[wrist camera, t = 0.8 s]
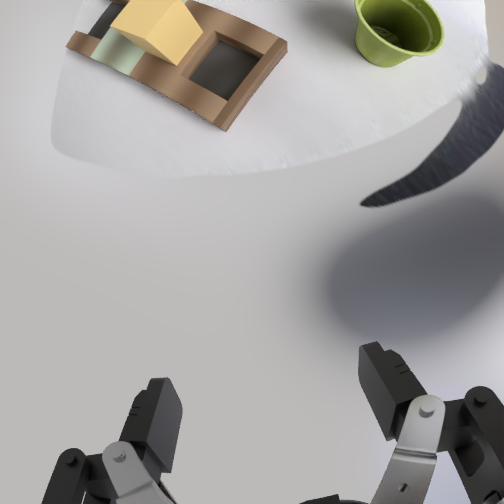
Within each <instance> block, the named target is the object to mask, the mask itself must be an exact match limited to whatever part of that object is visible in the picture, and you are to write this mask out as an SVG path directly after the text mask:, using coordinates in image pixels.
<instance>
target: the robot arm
mask: <svg viewBox="0 0 504 504" xmlns="http://www.w3.org/2000/svg"><path fill="white" fill-rule="evenodd" d="M358 375H359V381H360V384H361V387H362V389H363V391H364V393H365V395H366V397H367V399H368V402H369V404H370V406H371V408H372V410H373V412H374V414H375V416H376V419H377V420H378V423H379V425H380V427H381V430H382V432H383V434H384V436H385V438H386V441H389V440H392V439H396V441H397V445H396V447H395V450H394V452H393V454H392V457H391V460H390V462H389V464H388V467H387V469H386V471H385V474H384V476H383V478H382V480H381V483H380V485H379V487H378V489H377V491H376V494H375V495H374V497H373V499H372V501H371V503H370V504H423V502H424V499H425V496H426V493H427V491H428V487H429V485H430V481H431V478H432V475H433V472H434V468H435V465H436V461H437V456H436V453H437V452H442V451H448V452H449V454H450V456H451V459H452V461H453V463H454V465H455V467H456V469H457V471H458V474H459V476H460V478H461V480H462V483H463V485H464V487H465V490H466V492H467V494H468V497H469V499H470V501H471V504H504V405H503V404H502V403H501V401H500V400H499V399H498V397H497V396H496V395H495V393H494V392H493V391H492V390H491V389H489V388H487V387H484V386H477V387H474V388H472V389H470V390H469V391H468V392H467V393H466V395H465V398H464V399H459V400H453V401H442V400H441V399H440V398H438V397H436V396H434V395H428V394H427V393H426V391H425V390H424V388H423V387H422V385H421V384H420V382H419V381H418V380H417V378H416V377H415V375H414V374H413V372H412V371H410V368H409V367H408V365H406V363H405V361H404V360H403V358H402V357H401V356H400V355H399V354H397V353H396V352H394V351H392V350H387V351H384V350H383V348H382V347H381V345H380V344H379V343H378V342H377V341H376V342H372V343H369V344H365V345H361V346H360V347H359V367H358ZM181 418H182V404H181V401H180V399H179V397H178V395H177V393H176V391H175V389H174V387H173V384H172V382H171V380H170V379H169V378H152V379H151V380H150V382H149V384H148V387H147V390H142V391H141V392H140V393H139V394H138V395H137V396H136V397H135V399H134V401H133V404H132V409H131V410H130V412H129V416H128V417H127V420H126V422H125V425H124V427H123V430H122V433H121V436H120V438H119V441H118V442H114V443H112V444H110V445H109V446H107V447H106V448H105V450H104V451H103V453H102V454H95V455H88V456H86V455H85V454H84V453H83V452H82V451H81V450H79V449H77V448H71V449H67V450H65V451H64V452H63V453H62V454H61V455H60V456H59V458H58V461H57V464H56V466H55V469H54V471H53V473H52V476H51V479H50V482H49V484H48V487H47V490H46V492H45V495H44V498H43V501H42V504H81V503H82V500H83V496H84V493H85V492H86V494H85V498H84V501H83V504H178V503H177V502H176V500H175V499H174V497H173V496H172V495H171V493H170V492H169V490H168V489H167V488H166V486H165V485H164V483H163V482H162V480H160V477H161V472H162V473H171V470H172V465H173V459H174V454H175V449H176V444H177V438H178V433H179V428H180V423H181ZM300 504H368V503H365V502H361V501H354V500H339V496H338V494H336V495H332V496H327V497H323V498H319V499H313V500H308V501H305V502H303V503H300Z"/></svg>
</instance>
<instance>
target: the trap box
mask: <svg viewBox="0 0 504 504" xmlns="http://www.w3.org/2000/svg"><path fill="white" fill-rule="evenodd" d="M110 1H111V2H112V3H111V4H110V6H109V7H108V8H107V9H106V11H105V12H104V13H103V14H102V16H101V17H100V18H99V20H98V21H97V22H96V24H95V25H94V26H93V28H92V29H91V31H90V32H89V33H88V35H87V34H84V33H81V32H78V31H76V32H75V33H74V35H73V36H72V38H71V39H70V41H69V42H68V44H67V45H66V47H67V48H69V49H72V50H74V51H76V52H79V53H81V54H83V55H85V56H88V57H90V58H92V59H94V60H97V61H99V62H101V63H103V64H105V65H107V66H109V67H111V68H113V69H115V70H118V71H120V72H122V73H124V74H126V75H128V76H130V77H131V78H133V79H135V80H137V81H139V82H141V83H143V84H145V85H147V86H149V87H151V88H152V89H154V90H156V91H158V92H160V93H162V94H163V95H165V96H167V97H169V98H171V99H172V100H174V101H176V102H178V103H179V104H181V105H183V106H185V107H186V108H188V109H190V110H191V111H193V112H195V113H196V114H198V115H200V116H201V117H203V118H205V119H206V120H208V121H210V122H211V123H213V124H215V125H216V126H218V127H219V128H221V129H223V130H224V131H227V130H228V129H229V127H230V126H231V124H232V123H233V122H234V120H235V119H236V117H237V116H238V115H239V113H240V112H241V110H242V109H243V108H244V106H245V105H246V104H247V102H248V101H249V100H250V98H251V97H252V96H253V94H254V93H255V92H256V90H257V89H258V88H259V87H260V85H261V84H262V83H263V81H264V80H265V79H266V78H267V76H268V75H269V74H270V73H271V71H272V70H273V69H274V68H275V66H276V65H277V64H278V63H279V62H280V60H281V59H282V58H283V57H284V55H285V54H286V53H287V41H285V40H283V39H282V38H280V37H278V36H276V35H274V34H272V33H270V32H268V31H266V30H264V29H262V28H260V27H258V26H256V25H254V24H251V23H249V22H247V21H245V20H242V19H240V18H238V17H236V16H233V15H231V14H228V13H226V12H223V11H221V10H218V9H216V8H213V7H210V6H208V5H205V4H202V3H199V2H196V1H193V0H182V1H183V3H184V4H185V6H186V7H187V9H188V10H189V11H190V13H191V14H192V16H193V17H194V19H195V20H196V22H197V23H198V25H199V26H200V28H201V29H202V31H203V33H202V34H201V36H200V37H199V38H198V39H197V40H196V42H195V43H194V44H193V45H192V47H191V48H190V49H189V50H188V52H187V53H186V54H185V56H184V57H183V58H182V59H181V61H180V62H179V63H178V65H177V66H176V65H174V64H172V63H170V62H167V61H165V60H163V59H161V58H159V57H157V56H155V55H152V54H150V53H148V52H145V51H144V50H143V49H141V48H140V47H139V46H137V45H136V44H135V43H133V42H132V41H130V40H129V39H128V38H126V37H125V36H123V35H122V34H121V33H119V32H118V31H116V30H115V29H113V28H112V27H110V25H111V24H112V23H113V21H114V20H115V19H116V17H117V16H118V15H119V14H120V12H121V11H122V10H123V9H124V8H125V6H126V5H127V4H128V3H129V2H130V0H110Z"/></svg>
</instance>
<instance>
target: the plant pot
mask: <svg viewBox="0 0 504 504" xmlns="http://www.w3.org/2000/svg"><path fill="white" fill-rule="evenodd" d="M355 9H356V12H357V15H358V26H357V31H356V38H355V41H356V46H357V48H358V50H359V51H360V52H361V54H362V55H363V56H364V57H365V58H366V60H368V61H369V62H371V63H373V64H375V65H377V66H381V67H392V66H395V65H398V64H399V63H401V62H403V61H405V60H407V59H409V58H411V57H413V56H427V55H431V54H433V53H435V52H436V51H438V50H439V49H440V48H441V46H442V44H443V42H444V28H443V24H442V22H441V20H440V18H439V16H438V14H437V12H436V11H435V10H434V8H433V7H432V6H431V5H430V4H429V3H428V2H427V1H426V0H355ZM376 29H378V30H382V31H384V32H385V33H386V34H384V33H381V32H378V31H376Z"/></svg>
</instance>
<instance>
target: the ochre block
mask: <svg viewBox="0 0 504 504" xmlns="http://www.w3.org/2000/svg"><path fill="white" fill-rule="evenodd" d="M110 27H112V28H113V29H115V30H116V31H118V32H119V33H121V34H122V35H123V36H125V37H126V38H128V39H129V40H130V41H132V42H133V43H135V44H136V45H137V46H139V47H140V48H141V49H143V50H144V51H145V52H148V53H150V54H152V55H155V56H157V57H159V58H161V59H163V60H165V61H167V62H170V63H172V64H174V65H176V66H177V65H178V63H179V62H180V61H181V59H182V58H183V57H184V56H185V54H186V53H187V52H188V50H189V49H190V48H191V47H192V45H193V44H194V43H195V42H196V40H197V39H198V38H199V37H200V36H201V34H202V33H203V31H202V29H201V28H200V26H199V25H198V23H197V22H196V20H195V19H194V17H193V16H192V14H191V13H190V11H189V10H188V9H187V7H186V6H185V4H184V3H183V1H182V0H130V2H129V3H128V4H127V5H126V6H125V8H124V9H123V10H122V11H121V12H120V14H119V15H118V16H117V17H116V19H115V20H114V21H113V23H112V24H111V25H110Z"/></svg>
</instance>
